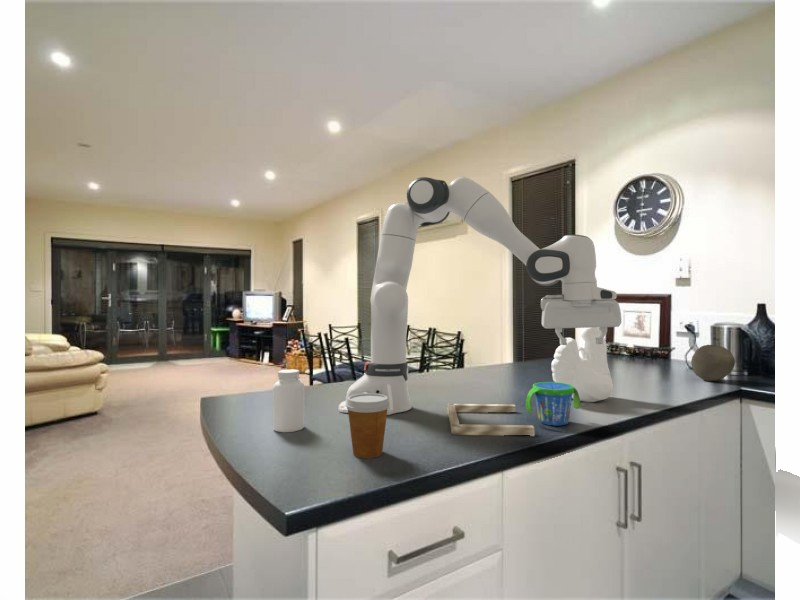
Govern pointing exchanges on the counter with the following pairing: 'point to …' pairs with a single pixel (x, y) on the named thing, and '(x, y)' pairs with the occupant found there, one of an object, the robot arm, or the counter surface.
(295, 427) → the pill bottle
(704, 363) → the cantaloupe
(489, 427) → the wooden frame
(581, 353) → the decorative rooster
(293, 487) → the counter surface
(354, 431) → the disposable coffee cup
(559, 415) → the snack cup
